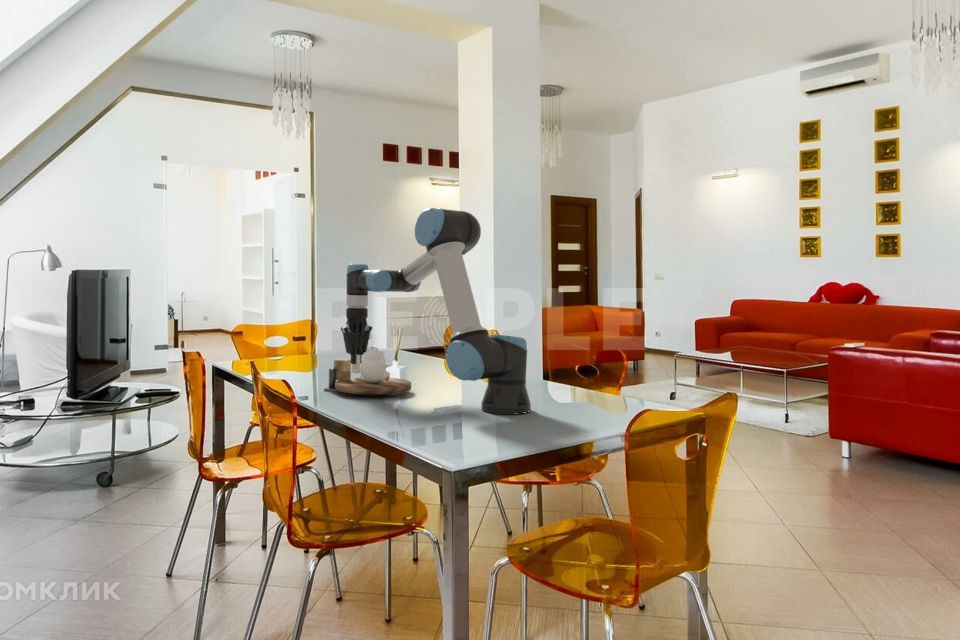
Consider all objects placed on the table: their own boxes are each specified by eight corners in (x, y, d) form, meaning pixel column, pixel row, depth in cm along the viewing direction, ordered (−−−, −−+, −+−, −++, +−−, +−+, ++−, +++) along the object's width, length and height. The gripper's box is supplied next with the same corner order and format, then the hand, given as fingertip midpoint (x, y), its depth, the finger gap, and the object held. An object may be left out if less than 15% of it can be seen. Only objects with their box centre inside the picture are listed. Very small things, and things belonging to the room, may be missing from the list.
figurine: (366, 385, 229) (367, 349, 229) (354, 381, 237) (354, 347, 237) (393, 383, 235) (393, 348, 234) (380, 379, 243) (380, 346, 242)
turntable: (384, 380, 255) (385, 356, 255) (425, 390, 235) (426, 364, 234) (320, 385, 239) (320, 360, 238) (359, 397, 218) (359, 368, 218)
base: (397, 390, 243) (397, 369, 242) (388, 396, 229) (389, 374, 228) (331, 387, 245) (331, 366, 244) (318, 393, 231) (318, 371, 230)
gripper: (364, 306, 252) (363, 370, 253) (335, 307, 242) (334, 373, 243) (377, 307, 247) (376, 372, 248) (349, 307, 237) (348, 375, 238)
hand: (356, 372), depth 246 cm, fingers closed
